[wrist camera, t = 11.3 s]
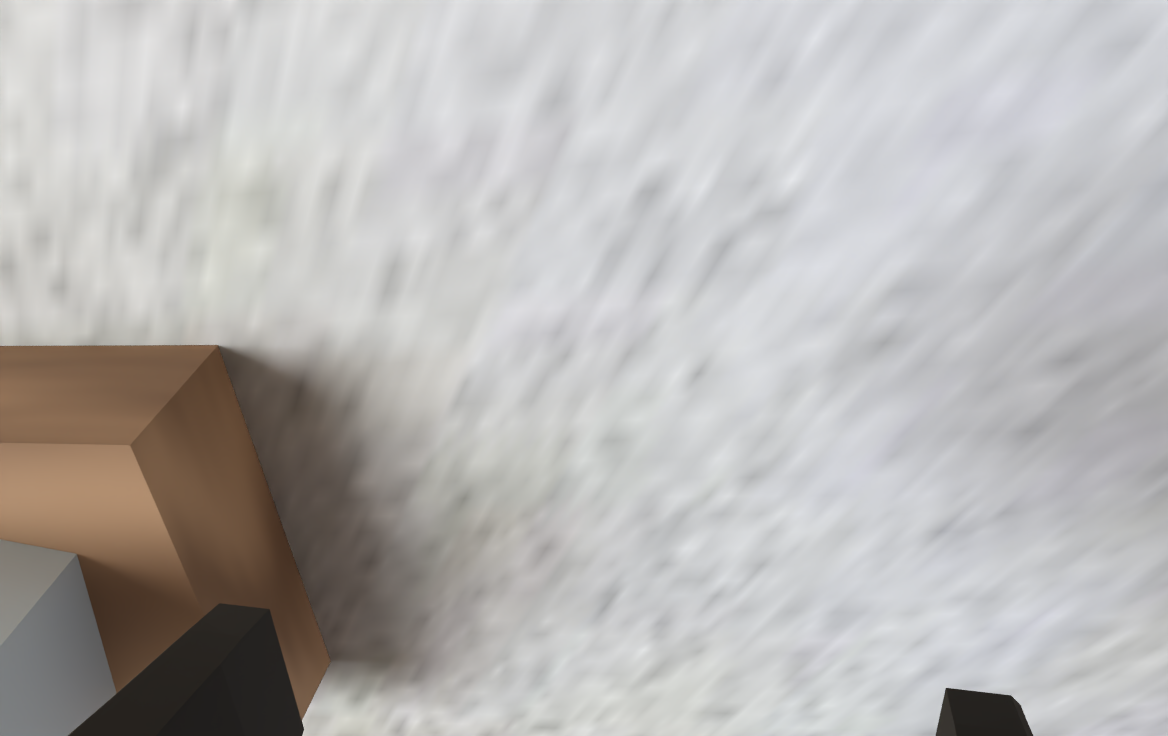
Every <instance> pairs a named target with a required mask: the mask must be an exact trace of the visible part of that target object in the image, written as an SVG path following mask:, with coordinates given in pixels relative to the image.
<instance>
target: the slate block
mask: <svg viewBox="0 0 1168 736" xmlns="http://www.w3.org/2000/svg"><path fill="white" fill-rule="evenodd" d="M115 694H116V689H115V686H114V682H113V679H112V675H111V672H110V668H109V665H108V661H107V658H106V654H105V651H104V647H103V644H102V640H101V637H100V633H99V630H98V626H97V623H96V619H95V616H94V612H93V609H92V605H91V602H90V598H89V595H88V591H87V588H86V584H85V581H84V577H83V574H82V571H81V567H80V564H79V560H78V557H77V554H75V553H70V552H64V551H59V550H54V549H48V548H43V547H38V546H33V545H27V544H22V543H17V542H11V541H6V540H1V539H0V736H68V735H69V734H70V733H71V732H72V731H73V730H75V729H76V728H77V727H78V726H79V725H80V724H82V723H83V722H84V721H85V720H86V719H88V718H89V717H90V716H91V715H92V714H93V713H95V712H96V711H97V710H98V709H99V708H100V707H102V706H103V705H104V704H105V703H106V702H107V701H108V700H110V699H111V698H112V697H113V696H114V695H115Z"/></svg>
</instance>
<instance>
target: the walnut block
mask: <svg viewBox="0 0 1168 736" xmlns="http://www.w3.org/2000/svg"><path fill="white" fill-rule="evenodd" d="M0 539H1V540H6V541H11V542H17V543H22V544H27V545H33V546H38V547H43V548H48V549H54V550H59V551H64V552H70V553H75V554H77V557H78V560H79V564H80V567H81V571H82V574H83V577H84V581H85V584H86V588H87V591H88V595H89V598H90V602H91V605H92V609H93V612H94V616H95V619H96V623H97V626H98V630H99V633H100V637H101V640H102V644H103V647H104V651H105V654H106V658H107V661H108V665H109V668H110V672H111V675H112V679H113V682H114V686H115V689H116V693H118V692H119V691H120V690H121V689H122V688H123V687H124V686H125V685H127V684H128V683H129V682H130V681H131V680H132V679H133V678H135V677H136V676H137V675H138V674H139V673H140V672H141V671H142V670H144V669H145V668H146V667H147V666H148V665H149V664H150V663H151V662H153V661H154V660H155V659H156V658H157V657H158V656H159V655H160V654H162V653H163V652H164V651H165V650H166V649H167V648H168V647H169V646H171V645H172V644H173V643H174V642H175V641H176V640H177V639H179V638H180V637H181V636H182V635H183V634H184V633H185V632H187V631H188V630H189V629H190V628H191V627H192V626H193V625H195V624H196V623H197V622H198V621H199V620H200V619H202V618H203V617H204V616H205V615H206V614H207V613H209V612H210V611H211V610H212V609H213V608H214V607H215V606H217V605H218V604H219V603H222V604H231V605H239V606H248V607H257V608H265V609H270V612H271V616H272V619H273V623H274V626H275V630H276V633H277V637H278V640H279V644H280V647H281V651H282V654H283V658H284V661H285V665H286V668H287V672H288V675H289V678H290V682H291V685H292V689H293V692H294V696H295V699H296V703H297V706H298V710H299V713H300V717H301V720H302V719H303V717H304V715H305V713H306V711H307V709H308V707H309V705H310V703H311V701H312V699H313V697H314V694H315V692H316V690H317V688H318V686H319V684H320V682H321V680H322V678H323V676H324V674H325V672H326V670H327V668H328V666H329V664H330V662H331V661H330V658H329V655H328V652H327V649H326V647H325V644H324V641H323V638H322V635H321V633H320V630H319V627H318V624H317V621H316V619H315V616H314V613H313V610H312V607H311V605H310V602H309V599H308V596H307V594H306V591H305V588H304V585H303V582H302V580H301V577H300V574H299V571H298V568H297V566H296V563H295V560H294V557H293V554H292V552H291V549H290V546H289V543H288V540H287V538H286V535H285V532H284V529H283V526H282V524H281V521H280V518H279V515H278V512H277V510H276V507H275V504H274V501H273V498H272V496H271V493H270V490H269V487H268V484H267V482H266V479H265V476H264V473H263V470H262V468H261V465H260V462H259V459H258V456H257V454H256V451H255V448H254V445H253V442H252V440H251V437H250V434H249V431H248V428H247V426H246V423H245V420H244V417H243V414H242V412H241V409H240V406H239V403H238V400H237V398H236V395H235V392H234V389H233V386H232V384H231V381H230V378H229V375H228V372H227V370H226V367H225V364H224V361H223V358H222V356H221V353H220V350H219V347H218V345H153V346H0Z"/></svg>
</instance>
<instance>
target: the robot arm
mask: <svg viewBox="0 0 1168 736" xmlns="http://www.w3.org/2000/svg"><path fill="white" fill-rule="evenodd" d="M303 731H304V727H303V724H302V720H301V717H300V713H299V710H298V706H297V703H296V699H295V696H294V692H293V689H292V685H291V682H290V678H289V675H288V672H287V668H286V665H285V661H284V658H283V654H282V651H281V647H280V644H279V640H278V637H277V633H276V630H275V626H274V623H273V619H272V616H271V612H270V609H265V608H257V607H248V606H239V605H231V604H222V603H219V604H218V605H217V606H215V607H214V608H213V609H212V610H211V611H210V612H209V613H207V614H206V615H205V616H204V617H203V618H202V619H200V620H199V621H198V622H197V623H196V624H195V625H193V626H192V627H191V628H190V629H189V630H188V631H187V632H185V633H184V634H183V635H182V636H181V637H180V638H179V639H177V640H176V641H175V642H174V643H173V644H172V645H171V646H169V647H168V648H167V649H166V650H165V651H164V652H163V653H162V654H160V655H159V656H158V657H157V658H156V659H155V660H154V661H153V662H151V663H150V664H149V665H148V666H147V667H146V668H145V669H144V670H142V671H141V672H140V673H139V674H138V675H137V676H136V677H135V678H133V679H132V680H131V681H130V682H129V683H128V684H127V685H125V686H124V687H123V688H122V689H121V690H120V691H119V692H118V693H116V694H115V695H114V696H113V697H112V698H111V699H110V700H108V701H107V702H106V703H105V704H104V705H103V706H102V707H100V708H99V709H98V710H97V711H96V712H95V713H93V714H92V715H91V716H90V717H89V718H88V719H86V720H85V721H84V722H83V723H82V724H80V725H79V726H78V727H77V728H76V729H75V730H73V731H72V732H71V733H70V734H69V735H68V736H302V734H303ZM936 736H1033V734H1032V732H1031V729H1030V727H1029V725H1028V722H1027V720H1026V718H1025V715H1024V713H1023V710H1022V708H1021V705H1020V704H1019V703H1018V702H1017V701H1016V700H1015V699H1014V698H1013V697H1012V696H1011V695H1002V694H993V693H985V692H976V691H968V690H959V689H951V688H946V690H945V695H944V699H943V704H942V709H941V713H940V718H939V723H938V727H937V732H936Z"/></svg>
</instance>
